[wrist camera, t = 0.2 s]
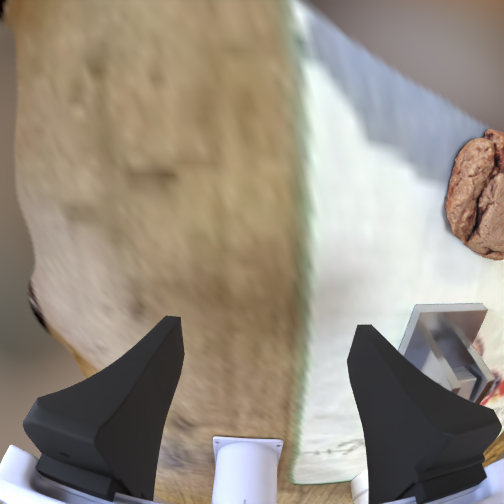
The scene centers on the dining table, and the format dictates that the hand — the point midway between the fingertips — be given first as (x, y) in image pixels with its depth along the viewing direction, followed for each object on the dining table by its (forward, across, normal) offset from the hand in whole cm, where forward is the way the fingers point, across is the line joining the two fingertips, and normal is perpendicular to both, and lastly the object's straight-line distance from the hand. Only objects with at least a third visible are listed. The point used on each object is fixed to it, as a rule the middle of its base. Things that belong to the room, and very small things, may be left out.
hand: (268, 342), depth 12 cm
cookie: (+10, -18, -5) cm, 21 cm away
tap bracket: (+10, -17, +10) cm, 22 cm away
